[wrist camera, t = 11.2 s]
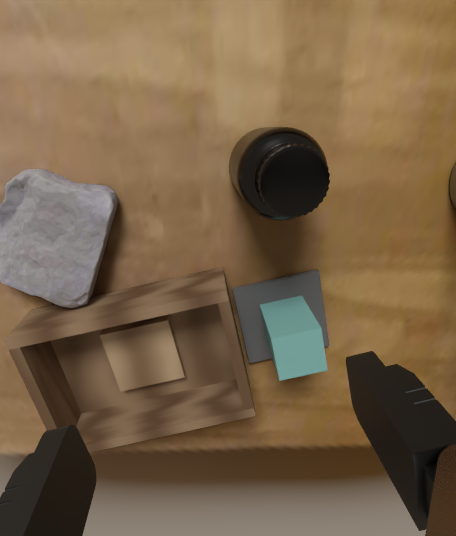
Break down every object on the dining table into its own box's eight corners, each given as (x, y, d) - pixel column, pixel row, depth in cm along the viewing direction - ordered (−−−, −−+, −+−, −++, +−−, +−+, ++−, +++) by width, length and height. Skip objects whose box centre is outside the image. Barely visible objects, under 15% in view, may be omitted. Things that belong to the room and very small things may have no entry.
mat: (317, 269, 41) (318, 271, 41) (327, 342, 44) (329, 345, 44) (232, 288, 41) (232, 290, 41) (248, 360, 44) (249, 363, 44)
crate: (222, 267, 40) (226, 290, 35) (248, 379, 45) (255, 416, 40) (31, 310, 40) (3, 340, 35) (77, 417, 45) (60, 459, 40)
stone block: (9, 269, 41) (100, 302, 41) (-25, 282, 36) (77, 320, 36) (31, 156, 38) (130, 192, 38) (-2, 154, 33) (110, 195, 33)
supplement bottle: (296, 203, 39) (336, 236, 27) (226, 200, 38) (238, 233, 27) (305, 128, 36) (353, 131, 25) (230, 123, 36) (245, 124, 24)
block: (301, 295, 41) (321, 328, 35) (307, 332, 43) (327, 370, 36) (259, 304, 41) (271, 339, 35) (267, 341, 43) (279, 380, 36)
